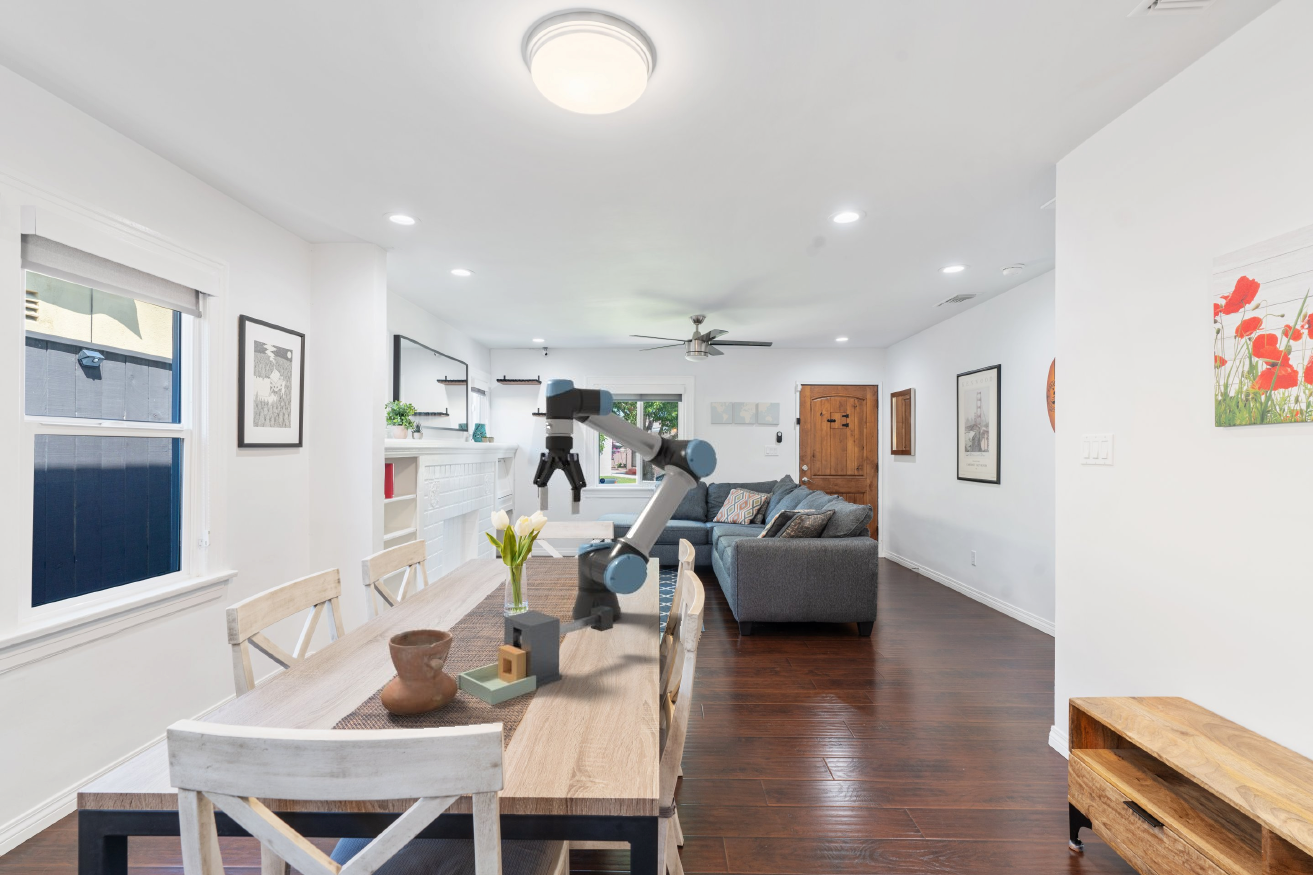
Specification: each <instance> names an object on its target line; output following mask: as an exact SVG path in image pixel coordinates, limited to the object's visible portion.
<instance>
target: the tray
mask: <svg viewBox="0 0 1313 875" xmlns="http://www.w3.org/2000/svg"><path fill="white" fill-rule="evenodd" d="M456 680H457V681H456V683H457V686H458V690H459V689H460V690H462V691H463V692H466V693H468V694H470V695H472V696H473V697H475V698H478V699H479V700H481V701H484V702H485V703H488V704H489V706H494V705H496V704H499V703H503V702H505V701H509V700H510V699H513V698H517V697H519V696H523V695H525V694H527V693H530V692H533V691H536V689H537V688H536V676H535V675H533V676H530V677H527V678H524V679H521V680H518V681H515V682H512V683H507V682H504V681H502V680H500V679H498V661H497V662H495V663H491V664H487V665H484V666H480V667H477V668H474V669H469V670H468V671H464V672H460V673H457V674H456Z"/></svg>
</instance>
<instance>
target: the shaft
mask: <svg viewBox="0 0 1313 875" xmlns="http://www.w3.org/2000/svg"><path fill="white" fill-rule="evenodd" d="M613 627H614V621H613V608H609V607H605V606H599V607H595V608H591V616H590V617H586V618H583V619H579V620H572V621H569V622H564V623H561V624H560V636H563V635H567V634H570V633H574V632H577V631H580V630H583V629H588V628H590V629H593V630H595V631H597V632H605V631H608V630H611V629H613ZM517 641H518V644H519V646H521V645H522V635H519V636H518V639H517Z"/></svg>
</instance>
